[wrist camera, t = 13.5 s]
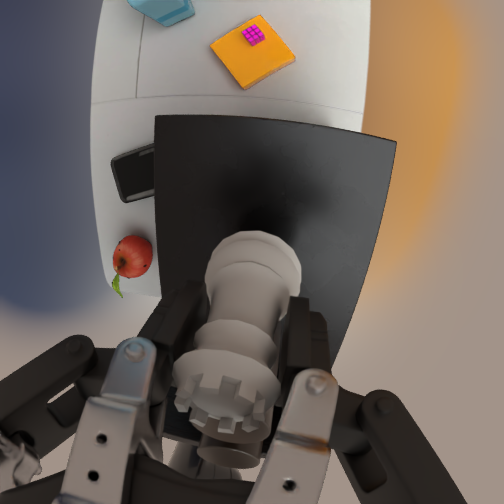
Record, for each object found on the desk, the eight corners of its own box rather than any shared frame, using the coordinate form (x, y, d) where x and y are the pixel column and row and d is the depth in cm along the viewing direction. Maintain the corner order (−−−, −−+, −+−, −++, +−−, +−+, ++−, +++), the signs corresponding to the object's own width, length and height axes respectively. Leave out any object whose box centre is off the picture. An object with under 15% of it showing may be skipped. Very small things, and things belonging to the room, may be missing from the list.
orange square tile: (295, 60, 30) (295, 53, 26) (245, 90, 33) (239, 86, 29) (261, 19, 28) (258, 8, 24) (213, 49, 30) (204, 41, 27)
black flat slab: (314, 394, 23) (313, 462, 17) (178, 373, 24) (153, 434, 18) (390, 140, 13) (457, 158, 7) (163, 115, 14) (83, 120, 8)
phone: (206, 183, 38) (122, 204, 41) (208, 182, 39) (125, 202, 42) (192, 130, 35) (108, 158, 38) (195, 130, 36) (112, 157, 39)
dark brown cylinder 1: (254, 353, 20) (235, 448, 13) (212, 323, 19) (175, 418, 12) (294, 326, 18) (288, 432, 11) (249, 291, 17) (221, 397, 10)
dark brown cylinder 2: (249, 390, 22) (232, 471, 15) (212, 367, 21) (185, 451, 14) (282, 372, 20) (273, 463, 13) (244, 346, 20) (221, 442, 13)
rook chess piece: (210, 298, 15) (154, 426, 8) (212, 220, 13) (126, 339, 6) (292, 311, 15) (284, 453, 7) (310, 234, 13) (323, 378, 5)
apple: (121, 233, 45) (88, 260, 37) (150, 222, 44) (118, 248, 35) (140, 271, 48) (112, 302, 39) (169, 262, 47) (143, 295, 38)
